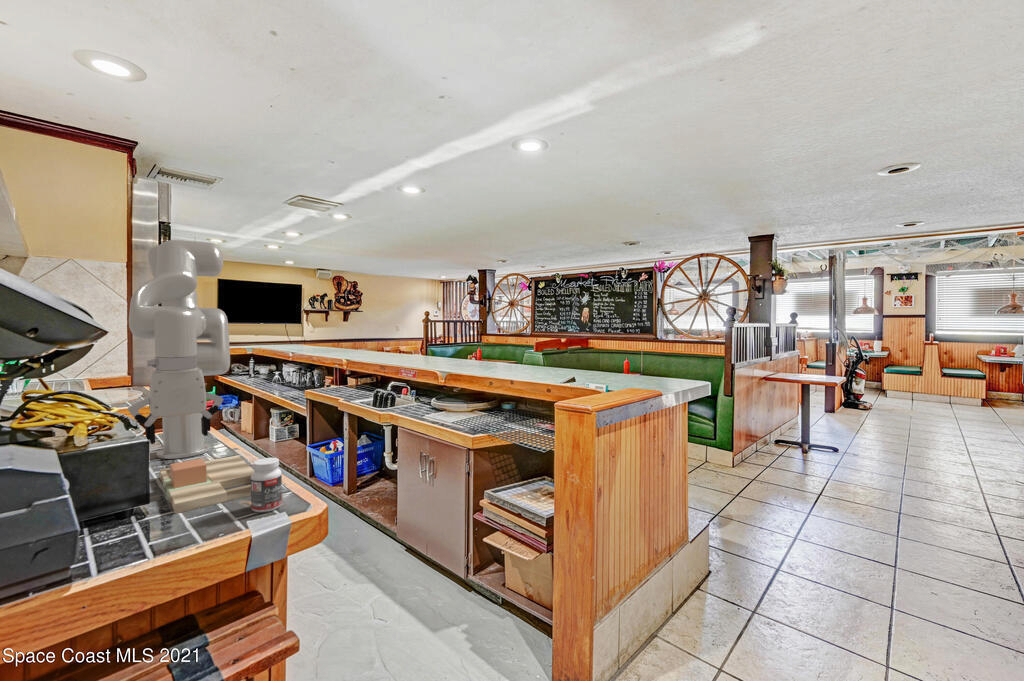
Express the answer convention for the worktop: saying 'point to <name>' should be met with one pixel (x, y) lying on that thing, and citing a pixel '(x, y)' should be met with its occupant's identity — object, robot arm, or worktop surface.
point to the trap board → (211, 485)
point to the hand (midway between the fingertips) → (179, 438)
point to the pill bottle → (266, 485)
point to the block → (188, 473)
